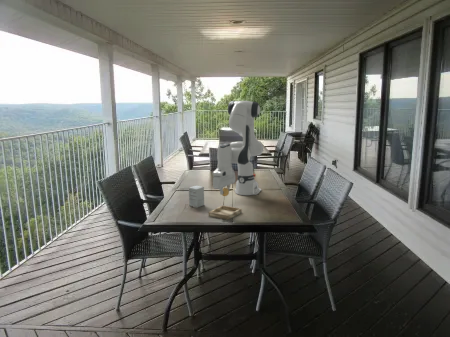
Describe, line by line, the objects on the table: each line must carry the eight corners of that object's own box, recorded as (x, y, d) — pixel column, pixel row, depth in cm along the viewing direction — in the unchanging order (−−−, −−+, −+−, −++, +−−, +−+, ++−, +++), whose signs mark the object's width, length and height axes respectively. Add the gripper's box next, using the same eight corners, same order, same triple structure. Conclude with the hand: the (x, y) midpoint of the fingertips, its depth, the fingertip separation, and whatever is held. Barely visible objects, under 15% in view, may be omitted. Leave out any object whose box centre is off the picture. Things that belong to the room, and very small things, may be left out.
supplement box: (196, 203, 239) (196, 185, 236) (204, 205, 234) (204, 186, 232) (188, 205, 233) (188, 187, 231) (196, 207, 229) (196, 189, 226)
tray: (222, 209, 225) (222, 205, 225) (241, 212, 218) (241, 208, 218) (208, 216, 212) (208, 212, 212) (228, 219, 205) (228, 215, 204)
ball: (223, 194, 217) (223, 186, 216) (230, 195, 214) (230, 187, 213) (219, 196, 212) (219, 188, 211) (226, 197, 210) (226, 189, 209)
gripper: (229, 167, 220) (229, 188, 223) (210, 173, 203) (211, 196, 206) (237, 168, 217) (237, 189, 220) (220, 174, 200) (220, 197, 203)
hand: (224, 193), depth 213 cm, fingers closed on ball, 5 cm apart
